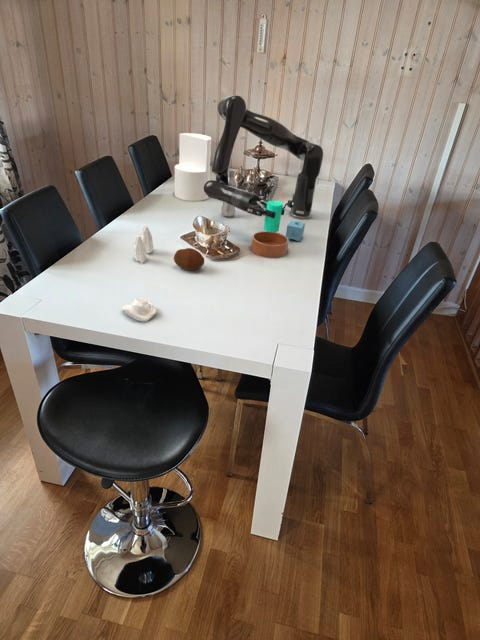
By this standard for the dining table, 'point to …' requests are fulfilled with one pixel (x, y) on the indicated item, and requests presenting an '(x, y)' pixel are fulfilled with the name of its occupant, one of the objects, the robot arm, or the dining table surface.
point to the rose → (140, 310)
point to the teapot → (295, 230)
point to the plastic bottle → (226, 208)
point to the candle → (273, 223)
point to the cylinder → (192, 166)
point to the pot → (269, 244)
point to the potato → (189, 259)
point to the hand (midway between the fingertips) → (279, 214)
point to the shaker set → (143, 245)
